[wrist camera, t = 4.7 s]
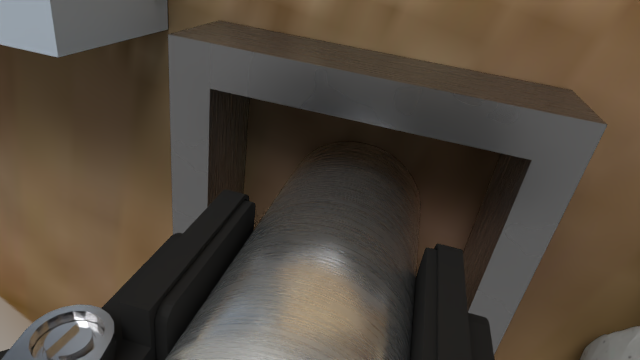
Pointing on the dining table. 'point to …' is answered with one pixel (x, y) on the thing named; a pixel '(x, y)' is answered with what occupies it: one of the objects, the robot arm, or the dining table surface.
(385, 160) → the black capped silver cylinder
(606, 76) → the dining table surface
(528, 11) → the dining table surface
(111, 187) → the dining table surface
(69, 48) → the bin
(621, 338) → the ceramic mug
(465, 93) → the socket collar
